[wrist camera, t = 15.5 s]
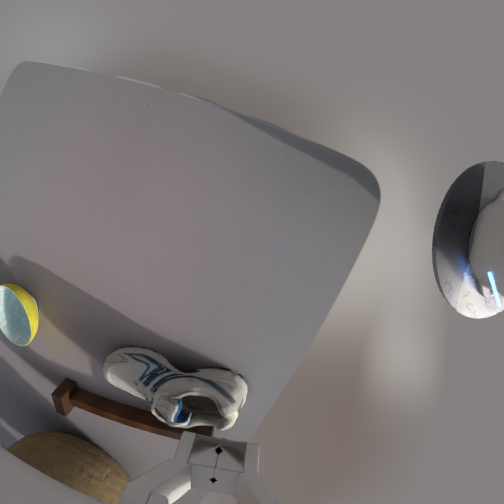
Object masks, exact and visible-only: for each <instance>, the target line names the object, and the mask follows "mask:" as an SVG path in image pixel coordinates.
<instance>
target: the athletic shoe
mask: <svg viewBox="0 0 504 504" xmlns="http://www.w3.org/2000/svg"><path fill="white" fill-rule="evenodd" d="M102 372H103V376H104V377H105V379H106V380H107V381H108V382H109V383H110V384H112V385H114V386H116V387H118V388H120V389H122V390H124V391H127V392H129V393H131V394H133V395H135V396H137V397H140V398H142V399H145V400H146V401H149V402H151V404H152V405H151V412H152V413H153V414H154V415H155V416H156V417H157V418H158V419H159V420H160V421H162V422H164V423H167V424H168V425H170V426H172V427H181V428H190V427H193V426H198V425H209V426H215V427H216V428H217V430H225V429H228V428H230V427H232V425H233V424H234V423H235V421H236V419H237V417H238V414H239V412H240V409H241V407H242V406H243V405H244V403H245V401H246V396H247V384H246V382H245V380H244V378H243V376H241V375H240V374H238V375H235V374H233V373H232V372H231V371H230V370H229V369H225V368H214V367H212V368H206V369H204V368H201V369H197V370H193V371H192V372H189V373H183V372H181V371H179V370H178V369H177V368H176V367H175V365H174V364H173V363H172V362H171V361H169V360H168V359H166V358H165V357H164V356H163V355H161V354H159V353H157V352H154V351H153V350H150V349H148V348H144V349H143V348H142V347H133V348H131V347H126V348H123V349H118V350H116V351H114V352H111V353H110V354H109V355H108V356H107V357H106V358H105V360H104V362H103V364H102ZM155 408H156V409H158V410H159V412H160V413H161V415H162V416H163V417H164V418H166V419H167V421H166V420H165V419H164V418H162V417H161V416H159V415H158V414H157V413H156V412H155Z"/></svg>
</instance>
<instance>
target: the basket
mask: <svg viewBox="0 0 504 504" xmlns="http://www.w3.org/2000/svg"><path fill="white" fill-rule="evenodd" d="M7 451H8V452H10V453H11V454H13V455H14V456H16V457H17V458H19V459H21V460H22V461H24V462H25V463H27V464H29V465H30V466H32V467H34V468H35V469H37V470H39V471H40V472H42V473H44V474H46V475H48V476H49V477H51V478H53V479H55V480H57V481H59V482H61V483H63V484H65V485H67V486H69V487H71V488H73V489H75V490H77V491H79V492H82V493H84V494H86V495H88V496H91V497H93V498H95V499H98V500H100V501H103V502H105V503H108V504H118V502H119V500H120V498H121V495H122V493H123V491H124V489H125V487H126V484H127V483H129V482H131V481H133V480H132V479H131V477H130V476H129V475H128V473H127V472H126V471H125V469H124V468H123V467H122V466H121V465H120V464H119V463H118V462H117V461H116V460H114V459H113V458H112V457H111V456H110V455H109V454H107V453H106V452H105V451H103V450H102V449H100V448H98V447H97V446H95V445H93V444H92V443H90V442H88V441H86V440H84V439H82V438H79V437H77V436H74V435H70V434H66V433H61V432H40V433H35V434H31V435H28V436H26V437H24V438H22V439H20V440H19V441H17V442H16V443H14V444H13V445H12V446H11V447H10V448H9V449H8V450H7Z"/></svg>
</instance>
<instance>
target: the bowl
mask: <svg viewBox="0 0 504 504" xmlns="http://www.w3.org/2000/svg"><path fill="white" fill-rule="evenodd" d="M37 328H38V306H37V303H36V300H35V299H34V297H33V296H32V295H31V294H29V293H28V292H27V291H26V290H24V289H23V288H22V287H20V286H18V285H15V284H10V283H6V284H1V285H0V329H1V331H2V332H3V333H4V335H5V336H6V337H7V338H8V339H9V340H10V341H11V342H13V343H14V344H16V345H18V346H26V345H28V344H29V343H30V342H31V341H32V339H33V338H34V336H35V334H36V332H37Z"/></svg>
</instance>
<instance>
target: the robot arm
mask: <svg viewBox="0 0 504 504" xmlns="http://www.w3.org/2000/svg"><path fill="white" fill-rule="evenodd" d="M468 255H469V262H470V266H471V269H472V271H473V273H474V275H475V277H476V278H477V280H478V283H479V291H480V294H481V295H482V296H484V297H490V296H495V299H496V302H497V306H498V307H499V308H500V307H501V305H500V301H499V297H498V295H501V296H503V297H504V189H503V190H502V191H501V193H500V194H499V196H498V197H497V199H496V200H495V201H493V202H491V203H489V204H488V205H487V206H485V207H484V208H483V209H482V210H481V212H480V213H479V214H478V216H477V218H476V220H475V222H474V224H473V227H472V230H471V233H470V238H469V245H468ZM259 449H260V445H259V444H255V443H248V442H242V441H235V440H228V439H222V438H221V439H220V438H215V437H210V436H205V435H201V434H196V433H192V432H188V431H184V432H183V433H182V436H181V438H180V441H179V444H178V447H177V450H176V453H175V456H174V459H168V460H167V461H165V462H164V463H162V464H160V465H159V466H157V467H155V468H154V469H152V470H150V471H148V472H147V473H145V474H143V475H141V476H140V477H138V478H136V479H134V480H133V481H131V482H129V483H127V484H126V487H125V489H124V491H123V493H122V495H121V498H120V500H119V502H118V504H172V503H173V502H174V501H176V500H177V499H178V498H180V497H181V496H182V495H183V494H184V493H186V492H187V491H188V490H189V489H191V487H192V488H197V489H203V490H209V491H215V492H220V493H225V494H231V495H233V496H234V498H235V500H236V501H237V503H238V504H283V503H282V502H281V500H280V499H279V498H278V496H277V495H276V494H275V492H274V491H273V490H272V489H271V487H270V486H269V485H268V483H267V482H266V481H265V479H264V478H263V477H262V475H258V465H259ZM0 504H108V503H105V502H103V501H100V500H98V499H95V498H93V497H91V496H88V495H86V494H84V493H82V492H79V491H77V490H75V489H73V488H71V487H69V486H67V485H65V484H63V483H61V482H59V481H57V480H55V479H53V478H51V477H49V476H48V475H46V474H44V473H42V472H40V471H39V470H37V469H35V468H34V467H32V466H30V465H29V464H27V463H25V462H24V461H22V460H21V459H19V458H17V457H16V456H14V455H13V454H11V453H10V452H8V451H7V450H5V449H4V448H2V447H1V446H0Z"/></svg>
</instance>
